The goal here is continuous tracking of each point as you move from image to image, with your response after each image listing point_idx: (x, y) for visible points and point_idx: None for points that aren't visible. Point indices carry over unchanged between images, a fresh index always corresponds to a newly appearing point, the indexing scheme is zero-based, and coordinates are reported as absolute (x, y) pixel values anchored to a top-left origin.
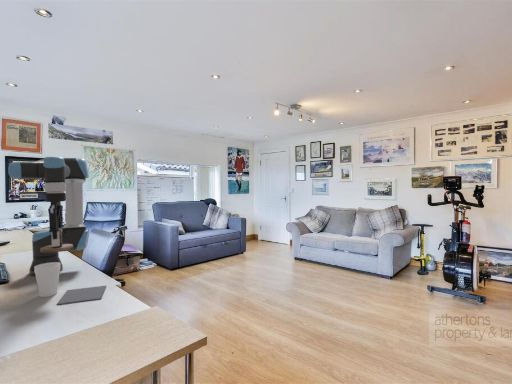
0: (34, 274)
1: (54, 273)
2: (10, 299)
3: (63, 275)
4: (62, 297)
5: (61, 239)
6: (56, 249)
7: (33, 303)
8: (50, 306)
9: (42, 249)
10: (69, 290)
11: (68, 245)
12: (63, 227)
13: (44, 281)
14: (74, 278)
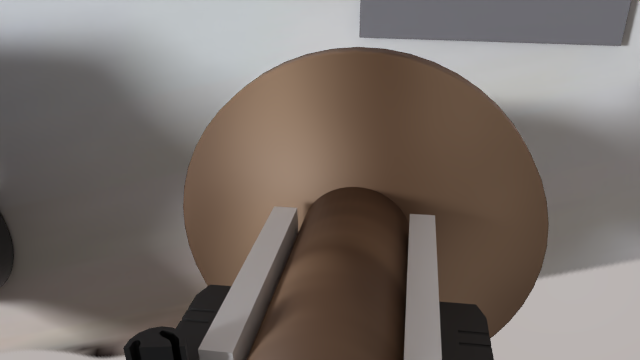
0: (7, 272)
1: None
2: None
3: (25, 125)
4: (505, 36)
5: (354, 240)
6: (531, 219)
7: None
8: (619, 76)
9: None
10: (373, 21)
11: (316, 118)
12: (129, 349)
13: None
14: (98, 45)
